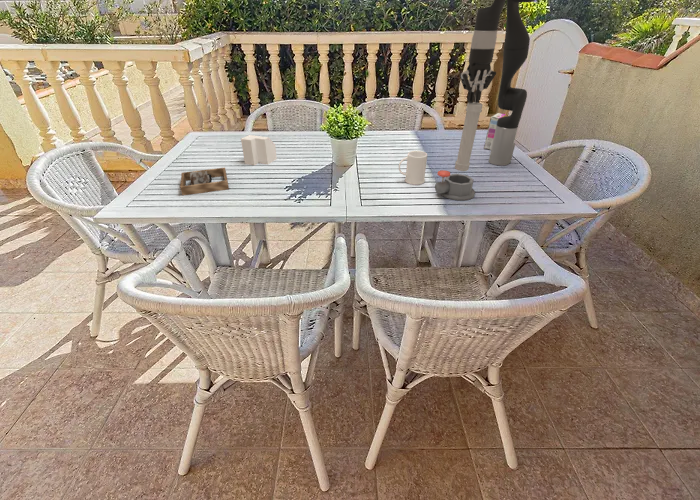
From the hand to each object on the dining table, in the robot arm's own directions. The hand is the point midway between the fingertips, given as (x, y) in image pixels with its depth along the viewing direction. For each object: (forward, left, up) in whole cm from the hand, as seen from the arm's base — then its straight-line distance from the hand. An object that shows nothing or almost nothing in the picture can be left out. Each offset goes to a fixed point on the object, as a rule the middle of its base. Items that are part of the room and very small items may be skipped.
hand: (473, 102), depth 130 cm
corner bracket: (+70, -62, -35) cm, 100 cm away
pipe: (0, 0, -25) cm, 25 cm away
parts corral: (+96, -42, -35) cm, 110 cm away
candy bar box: (-49, -43, -35) cm, 74 cm away
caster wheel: (+98, -43, -35) cm, 113 cm away
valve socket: (+2, 0, -35) cm, 35 cm away
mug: (+12, -17, -35) cm, 41 cm away
